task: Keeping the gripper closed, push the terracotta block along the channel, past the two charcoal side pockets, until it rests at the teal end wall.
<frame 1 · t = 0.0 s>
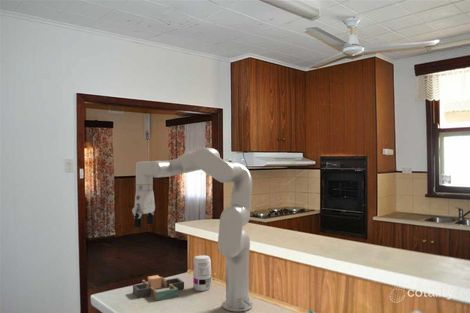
hand: (144, 225, 171), 31 cm above the countertop, tool pointing down, fingers open, 9 cm apart
supplement can: (202, 289, 178), on the countertop
trap channel: (158, 291, 175), on the countertop
block: (154, 287, 180), on the countertop
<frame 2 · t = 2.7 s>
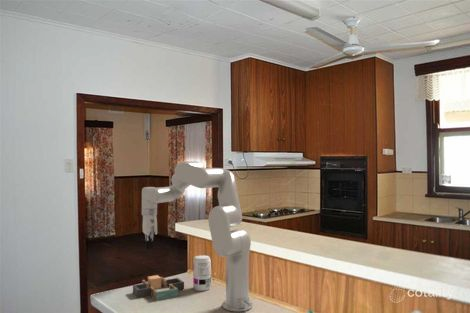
hand: (148, 248, 187), 17 cm above the countertop, tool pointing down, fingers closed
nothing on the countertop moved.
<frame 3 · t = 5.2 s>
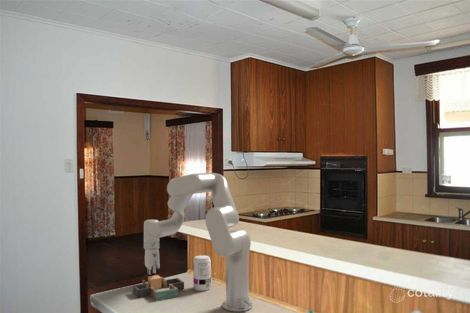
hand: (151, 282, 184), 1 cm above the countertop, tool pointing down, fingers closed
block: (154, 287, 180), on the countertop, touching gripper
everything else where it was.
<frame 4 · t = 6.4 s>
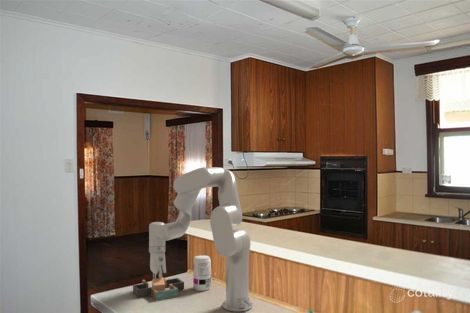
hand: (157, 287, 177), 1 cm above the countertop, tool pointing down, fingers closed
block: (158, 290, 173), point 1 cm above the countertop, tilted 20°, touching gripper
everything else where it was.
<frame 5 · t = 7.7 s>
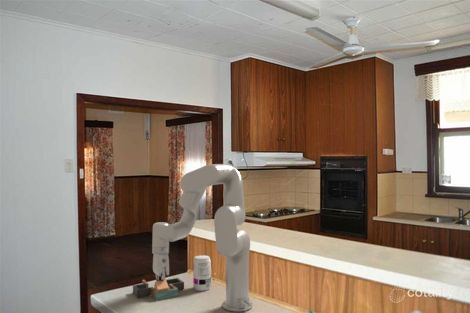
hand: (159, 289, 172), 2 cm above the countertop, tool pointing down, fingers closed
block: (160, 293, 168), point 1 cm above the countertop, tilted 25°, touching gripper, trap channel
everything else where it was.
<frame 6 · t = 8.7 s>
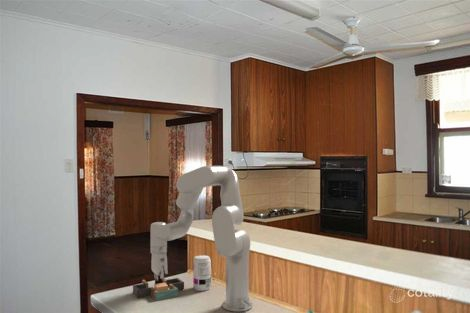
hand: (158, 288, 175), 1 cm above the countertop, tool pointing down, fingers closed
block: (161, 296, 169), on the countertop
everything else where it was.
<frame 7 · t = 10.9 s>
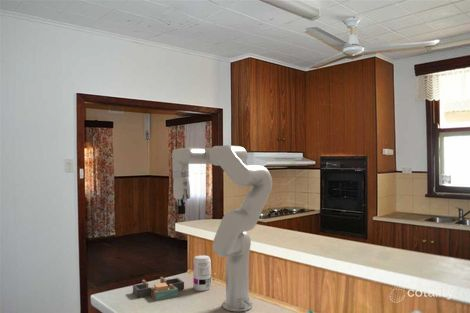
hand: (181, 213, 176), 36 cm above the countertop, tool pointing down, fingers closed
nothing on the countertop moved.
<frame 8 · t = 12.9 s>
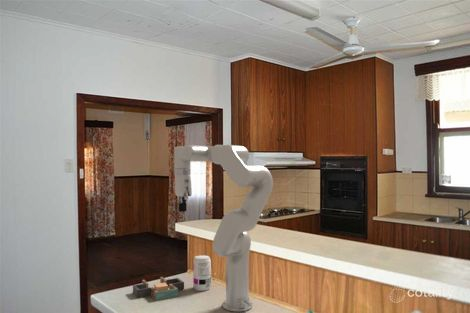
hand: (182, 211, 176), 37 cm above the countertop, tool pointing down, fingers closed
nothing on the countertop moved.
at the end: block 1.3 cm from the target spot, on the countertop; block tilted 0° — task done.
